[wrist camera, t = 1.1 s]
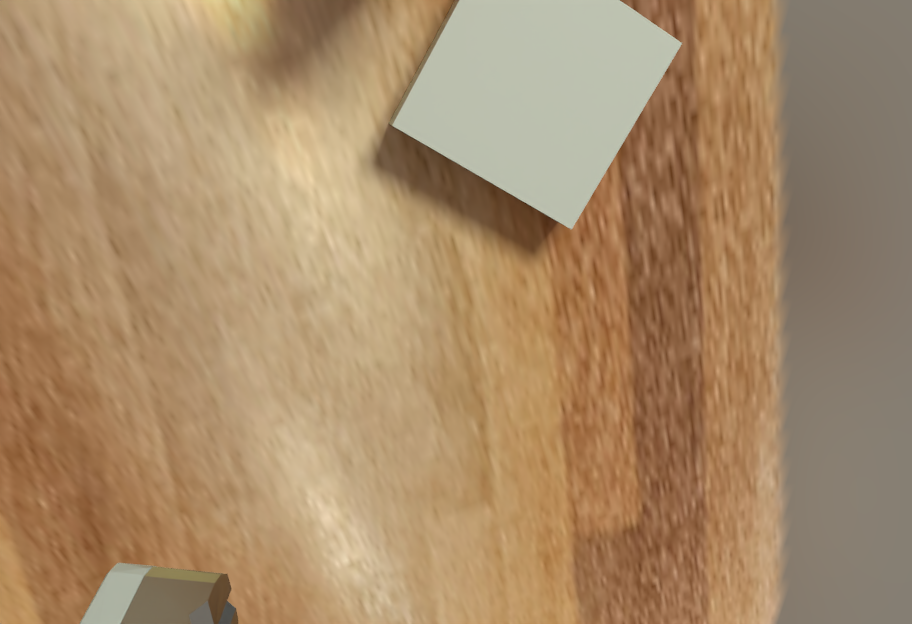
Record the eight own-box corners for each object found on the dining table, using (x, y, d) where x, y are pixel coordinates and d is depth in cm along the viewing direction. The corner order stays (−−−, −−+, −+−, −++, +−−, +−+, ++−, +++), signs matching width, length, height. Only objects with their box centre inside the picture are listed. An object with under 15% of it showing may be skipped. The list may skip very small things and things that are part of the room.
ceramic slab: (558, 222, 44) (571, 229, 41) (388, 123, 41) (392, 125, 39) (662, 46, 42) (682, 43, 40) (492, -70, 39) (502, -81, 37)
